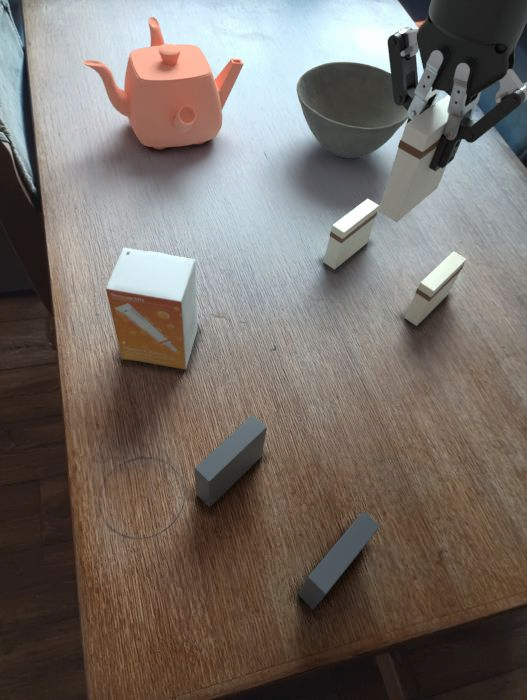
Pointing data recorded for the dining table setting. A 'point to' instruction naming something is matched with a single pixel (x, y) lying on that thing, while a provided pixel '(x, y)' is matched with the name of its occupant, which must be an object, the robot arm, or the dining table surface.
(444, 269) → the cream books
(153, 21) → the teapot
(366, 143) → the bowl
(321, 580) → the grey parallel blocks
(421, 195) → the white box
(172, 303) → the small box
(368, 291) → the dining table surface
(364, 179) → the dining table surface
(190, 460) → the dining table surface
